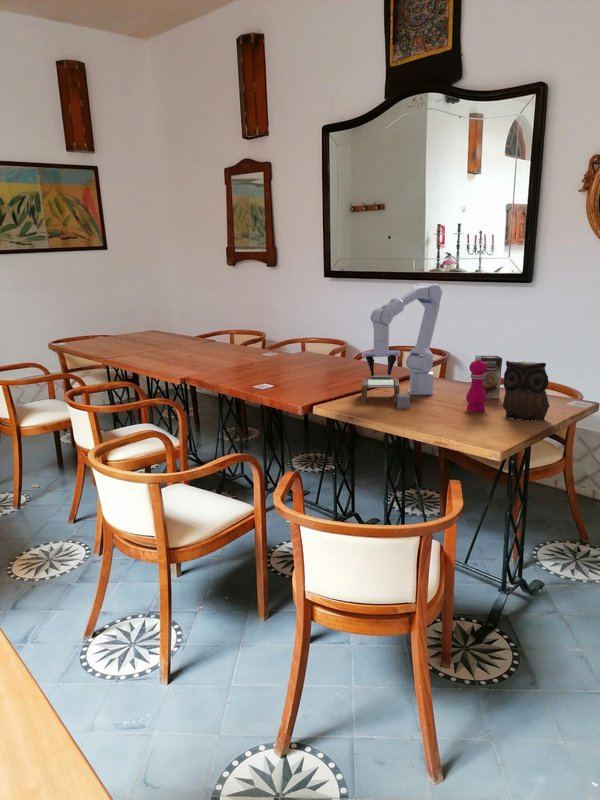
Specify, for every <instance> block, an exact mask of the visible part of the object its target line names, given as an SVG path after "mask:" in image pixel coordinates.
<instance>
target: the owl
mask: <svg viewBox="0 0 600 800" xmlns="http://www.w3.org/2000/svg"><path fill="white" fill-rule="evenodd" d="M505 364H506V365H505V366H506V367H505V368H506V369H505V371H504V374H503V387H504V390H505V391H504V393H505V394H504V397H503V402H502V408H503V409H504V410H505V411H504V412H505V415H504V417H505V416H506V417H505V418H507V419H510V418H513V419H512V420H519V419H521V420H520V421H527V420H529V421H528V422H536V421H535V420H541V421H545V417H546V416H547V413H548V410H549V408H550V403H549V399H548V395H547V391H546V390H547V388H548V387H549V383H550V381H549V376H548V374H547V371H546V366H547V363H546V362H534V361H529V362H528V361H509V360H506V361H505ZM531 420H532V421H531Z"/></svg>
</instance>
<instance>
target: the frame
mask: <svg viewBox="0 0 600 800" xmlns="http://www.w3.org/2000/svg"><path fill="white" fill-rule="evenodd" d="M399 380H400V379H399V378H398V377H397V378H394V388H393V389H394V390H393V396H394V404H395V403H397V394H400V381H399ZM361 383H362V384H361V404H367V396H368V389H369V388H370V389H371V388H375V389H377V388H378V389H382V388H384V389H386V388H388V389H389V387H368V378H366V377H363V378H362V382H361Z"/></svg>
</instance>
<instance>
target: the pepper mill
mask: <svg viewBox="0 0 600 800" xmlns="http://www.w3.org/2000/svg"><path fill="white" fill-rule="evenodd" d="M476 356H477V357H476V360H475V359H474V360H473V361H471V362H470V364H469V371H470V379H471V384H470V387H469V389H468V391H467V392H466V395H465V396H466V397H465V400H466V402H467V403H468V404H467V405H466V411H468V412H470V411H471V413H483V412H485V410H486V406H485V403H486V402H487V400H488V398H487V396H486V393H485V390H484V388H483V379H484V378H485V374H484V373H485V372H486V370H487V365H486V363H485V362H483V361H481V357H480V356H481V355H476Z"/></svg>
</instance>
